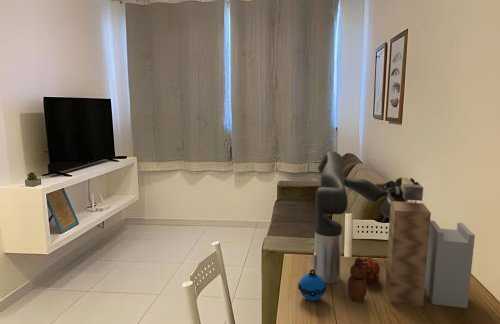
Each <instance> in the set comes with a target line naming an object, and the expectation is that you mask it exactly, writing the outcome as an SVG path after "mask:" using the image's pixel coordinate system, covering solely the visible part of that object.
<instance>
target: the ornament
mask: <svg viewBox="0 0 500 324" xmlns="http://www.w3.org/2000/svg"><path fill="white" fill-rule="evenodd" d="M313 272H314V273H313ZM326 286H327V285H326V283H325V282H324V280H323V279H322V278H321V277H320V276H319V275H317V274H315V270H313V268H312V269H310V270H309V273H306V274H305V275H303V276H302V277H301V278H300V280H299V282H298V287H297V289H298V290H299V293H300V294H301V295H302V298H303V297H304V298H305V300H308V301H317V300H320V299H321V298H322V297H323V296H324V295H325V292H326V290H327V287H326Z"/></svg>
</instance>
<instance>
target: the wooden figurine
mask: <svg viewBox="0 0 500 324" xmlns="http://www.w3.org/2000/svg"><path fill="white" fill-rule="evenodd" d="M362 259H363V256H360V255H359V256H358V257H357V258H356V259H354V264H352V265H351V266H350V270H349V271H350V272H349V273H350V276H349V277H348V279H347V294H348V297H349V299H351V300H352V301H354V302H362V301H364V299H365V297H366V294H367V282H366V280H365V278H364V276H365V268H364V266H362Z"/></svg>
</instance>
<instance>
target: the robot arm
mask: <svg viewBox="0 0 500 324" xmlns="http://www.w3.org/2000/svg"><path fill="white" fill-rule="evenodd" d="M344 164H345V160H344V158H343V156H342V155H341V154H340V153H338V152H336V151H332V150H331V151H326V153H325V154H324V156H323V157H322V159H321V161H320V162H319V164H318V168H317V170H318V172H319V173H321V175H320V185H321V186H320V187H318V188H317V189H316V191H315V197H314V198H315V203H314V204H315V224H314V225H315V228H314V249H313V251H314V252H313V263H312V264H313V266H312V269H313V270H315V274H317V275H319V276H320V277H321V278H322V279H323V280H324V282H325V284H328V285H329V284H335V283H339V281H340V280H341V278H340V276H341V259H342V258H341V255H342V252H341V251H342V234H343V233H342V232H343V227H342V225H341V224H340V223H339V222H337V221H335V220H333V219H330V218H329V217H327V215H343V214H344V213H345V212H346V211H347V209H348V202H349V201H348V194H347V191H346V188H348V189H350V190H352V191H353V192H356V193H357V194H358V195H360V196H361V197H363V198H365V199H366V200H367V201H369V202H371V203H373V204H376V203H377V202H379V201H380V200H381V199H385V200H384V201H383V203H382V205H381V206H380V207H379V208H380V209H379V210H380V212H381V214H382V216H384V218H387V219H390V206H391V201H394V202H408V201H409V200H404V198H403V197H402V196H403V192H402V190H401V189H400V186H401V184H402V178H403V177H398V178H396V180H395V181H394V180H390V181H387V182H385V183H383V184H382V188H381V187H379V186H378V185H376V184H374V183H373V182H371V181H369V180H367V179H363V178H356V177H355V178H352V177H345V174H344ZM409 179H410V181H411V182H412V183H413V184H414V185H421V184H420V182H419V181H415V179H414V178H412V177H411V178H409ZM312 273H314V272H313V271H312Z"/></svg>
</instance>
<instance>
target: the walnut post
mask: <svg viewBox="0 0 500 324" xmlns="http://www.w3.org/2000/svg"><path fill="white" fill-rule="evenodd" d="M431 214H432V213H431V211H430V210H429V209H428V207H427V206H426V205H425V204H424V203H422V202H410V201H409V202H408V201H407V202H394V201H391V206H390V218H389V222H388V223H389V225H388V238H387V239H388V240H387V251H386V252H387V255H386V267H385V268H386V269H385V284H384V285H385V290H386V295H387V299H388V302H390V303H396V304H405V305H413V306H422V307H423V306H424V299H425V298H424V297H425V276H426V264H427V252H428V240H429V229H430V221H431Z"/></svg>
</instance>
